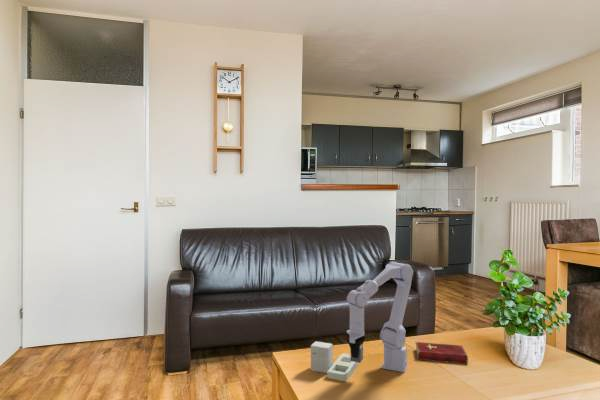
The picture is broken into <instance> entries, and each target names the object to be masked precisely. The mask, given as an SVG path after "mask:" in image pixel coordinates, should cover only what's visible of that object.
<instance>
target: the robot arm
mask: <svg viewBox="0 0 600 400" xmlns="http://www.w3.org/2000/svg"><path fill="white" fill-rule="evenodd" d="M413 276H414V269H413V268H412V265H410V264H408V263H400V262H396V261H390V262H388V263H387V264H385V268H384V269H383V270H382V271H381V272H379V274H378V275H376V277H375V278H373V279H366V280H365V281H364V283H363V284H361V285H360V286H359V287H357V288H356V289H352V290H351V291H349V292H348V294H347V296H346V302H347V303H348V308H349V329H348V330H346V334H348V335H349V338H347V339H346V340H347V344H348V346H349V348H350V354H351V353H352V357H354V358H358V355H359V349H360V345H361V344H362V346H363V347H364V342H365V339H366V336H367V335H366V334H365V306H367V304H368V301H369V300H370V298H371V297H373V296H374V295H375V294H376V293H377V292H378V291H379V287H381V286H382V285H383V284H384V283H386V282H387V281H389V280H391V279H393V281H394V282H395V283H396V285H397V286H396V290H395V294H394V299H393V303H392V307H391V311H390V316H389V320H388V321H387V322H384V323H383V327H382V328H381V330H380V333H379V338H380V340H381V342H382V345H383V363H382V364H381V369H384V370H390V371H393V372H400V373H405V371H406V369H407V366H408V362H407V361H408V360H407V359H408V357H407V356H408V353H407V351H408V350H407V347H405V343H406V334H407V333H406V332H407V331H406V329H405V327H404V326H403V321H404V318H405V317H404V316H405V312H406V309H407V304H408V300H409V295H410V291H411V287H412V280H413Z"/></svg>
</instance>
